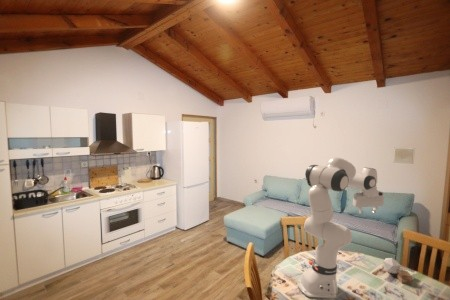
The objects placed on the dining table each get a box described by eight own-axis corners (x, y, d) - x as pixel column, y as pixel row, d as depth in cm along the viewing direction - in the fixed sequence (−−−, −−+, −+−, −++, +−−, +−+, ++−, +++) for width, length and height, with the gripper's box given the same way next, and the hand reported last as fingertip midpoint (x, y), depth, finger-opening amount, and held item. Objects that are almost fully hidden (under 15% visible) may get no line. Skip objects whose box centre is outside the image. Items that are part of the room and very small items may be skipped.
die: (403, 278, 133) (404, 262, 132) (386, 276, 135) (387, 260, 134) (395, 270, 141) (396, 255, 141) (379, 268, 143) (380, 253, 142)
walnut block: (397, 269, 133) (397, 278, 133) (402, 275, 128) (401, 284, 128) (407, 271, 132) (406, 279, 132) (412, 276, 127) (411, 285, 127)
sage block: (411, 281, 130) (411, 275, 130) (403, 277, 134) (403, 271, 134) (414, 279, 132) (414, 273, 132) (406, 275, 136) (406, 269, 136)
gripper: (357, 194, 139) (356, 215, 140) (386, 192, 143) (384, 213, 144) (350, 191, 146) (349, 212, 147) (378, 190, 149) (376, 210, 150)
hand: (367, 212), depth 145 cm, fingers open, 8 cm apart
